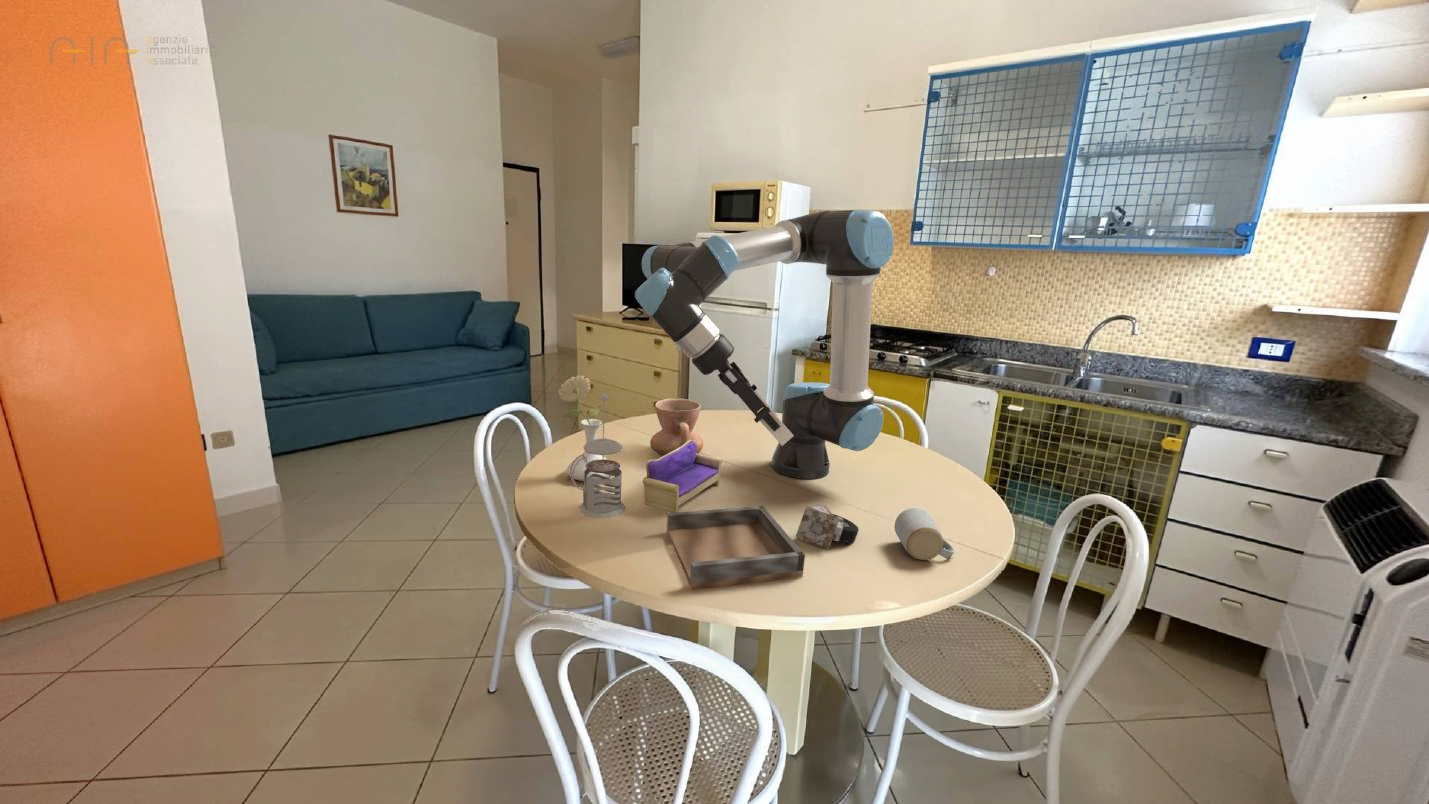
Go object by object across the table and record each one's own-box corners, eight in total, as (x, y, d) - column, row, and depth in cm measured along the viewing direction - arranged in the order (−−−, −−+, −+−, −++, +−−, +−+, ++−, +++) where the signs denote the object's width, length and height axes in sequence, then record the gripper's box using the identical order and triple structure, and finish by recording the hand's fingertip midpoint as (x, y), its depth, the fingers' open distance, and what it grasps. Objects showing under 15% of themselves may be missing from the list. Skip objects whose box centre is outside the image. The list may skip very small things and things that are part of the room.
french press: (632, 513, 120) (635, 398, 114) (578, 523, 114) (578, 402, 108) (616, 495, 128) (618, 387, 122) (564, 504, 122) (564, 390, 116)
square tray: (761, 524, 118) (763, 506, 117) (802, 576, 100) (804, 555, 99) (666, 532, 113) (667, 513, 112) (691, 589, 94) (692, 566, 93)
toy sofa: (674, 517, 120) (676, 471, 117) (640, 506, 124) (642, 462, 121) (721, 485, 138) (724, 445, 135) (690, 477, 142) (692, 437, 139)
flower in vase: (610, 466, 145) (612, 370, 139) (618, 484, 134) (620, 380, 128) (557, 470, 141) (556, 370, 134) (560, 488, 130) (559, 381, 124)
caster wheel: (851, 543, 118) (851, 559, 109) (799, 523, 121) (795, 538, 111) (861, 513, 117) (863, 527, 108) (809, 494, 120) (806, 506, 110)
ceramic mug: (903, 561, 107) (910, 524, 105) (891, 540, 115) (897, 505, 113) (960, 566, 107) (967, 528, 105) (943, 544, 115) (950, 509, 113)
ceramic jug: (646, 443, 164) (647, 395, 160) (696, 442, 167) (698, 395, 163) (654, 468, 147) (656, 415, 143) (709, 465, 150) (712, 414, 146)
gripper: (685, 349, 115) (752, 423, 120) (695, 373, 91) (778, 465, 96) (713, 324, 114) (779, 400, 120) (730, 342, 90) (812, 436, 96)
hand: (779, 429), depth 108 cm, fingers open, 13 cm apart
